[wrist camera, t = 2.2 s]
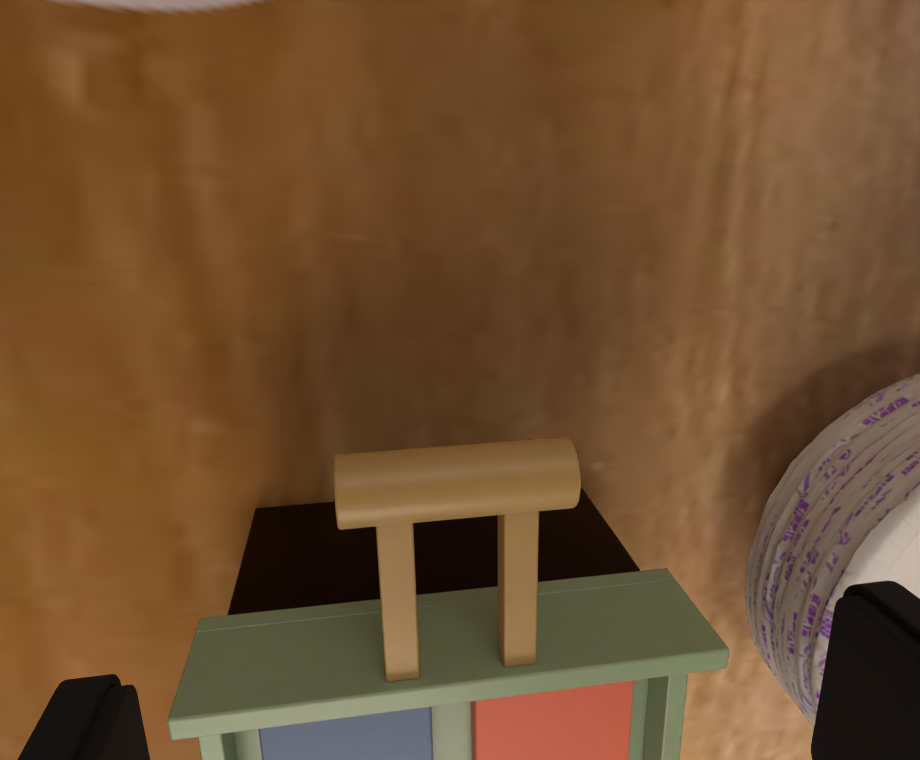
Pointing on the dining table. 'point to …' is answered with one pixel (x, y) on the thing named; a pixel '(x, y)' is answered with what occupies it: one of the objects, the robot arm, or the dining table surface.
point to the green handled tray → (449, 618)
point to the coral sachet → (555, 724)
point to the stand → (435, 546)
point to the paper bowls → (835, 534)
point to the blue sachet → (353, 738)
